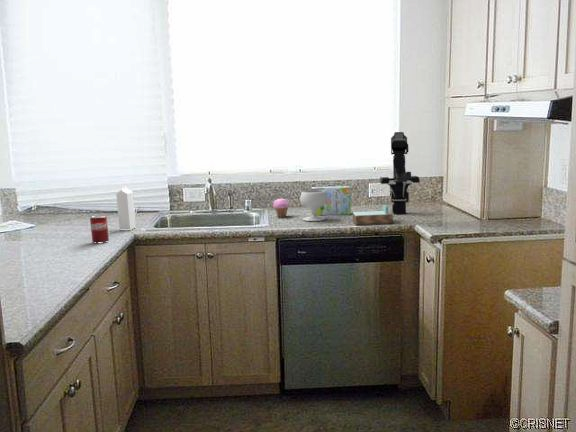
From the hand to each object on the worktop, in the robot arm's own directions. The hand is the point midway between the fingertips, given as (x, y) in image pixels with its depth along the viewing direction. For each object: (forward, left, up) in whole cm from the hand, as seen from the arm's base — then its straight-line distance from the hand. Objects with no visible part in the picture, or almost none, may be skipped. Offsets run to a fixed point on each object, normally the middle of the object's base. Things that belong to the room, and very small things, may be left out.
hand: (399, 197), depth 290 cm
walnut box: (+14, 0, -12) cm, 18 cm away
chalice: (+42, -14, -12) cm, 45 cm away
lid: (+14, 0, -8) cm, 16 cm away
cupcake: (+58, -27, -12) cm, 66 cm away
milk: (+136, -7, -12) cm, 137 cm away
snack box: (+32, -29, -12) cm, 45 cm away
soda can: (+142, +22, -12) cm, 144 cm away
